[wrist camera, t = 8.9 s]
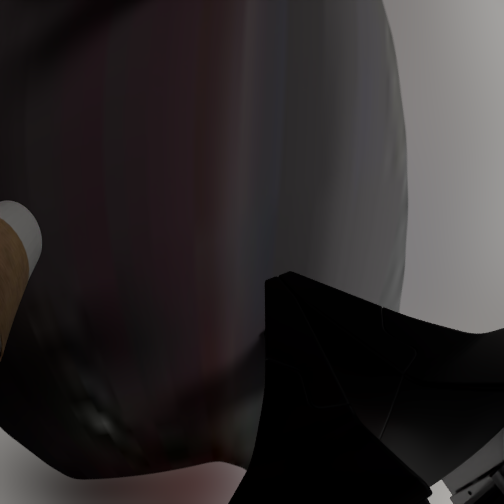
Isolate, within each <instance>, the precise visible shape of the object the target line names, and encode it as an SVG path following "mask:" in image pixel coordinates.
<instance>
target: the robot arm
mask: <svg viewBox="0 0 504 504" xmlns="http://www.w3.org/2000/svg"><path fill="white" fill-rule="evenodd" d="M264 336H265V352H266V361H265V389H264V397H263V404H262V410H261V416H260V421H259V426H258V432H257V437H256V442H255V447H254V451H253V455H252V459H251V462H250V465H249V467H248V470H247V472H246V473H245V476H244V477H243V479H242V481H241V482H240V484H239V486H238V488H237V490H236V491H235V493H234V495H233V497H232V498H231V500H230V502H229V503H228V504H430V503H429V501H428V499H427V498H428V497H429V496H431V495H432V491H431V489H430V486H432V485H433V484H435V483H436V482H438V481H439V480H441V479H442V480H443V482H444V483H445V485H446V486H447V488H448V489H449V491H450V492H451V493H452V495H453V496H451V497H450V499H451V501H452V502H453V504H504V328H503V329H499V330H496V331H492V332H489V333H482V334H474V333H467V332H462V331H458V330H455V329H451V328H447V327H444V326H439V325H436V324H432V323H429V322H425V321H422V320H418V319H415V318H412V317H409V316H406V315H403V314H400V313H398V312H395V311H392V310H390V309H387V308H385V307H383V308H382V307H381V306H379V305H377V304H374V303H371V302H369V301H366V300H364V299H361V298H359V297H356V296H353V295H351V294H348V293H346V292H343V291H341V290H338V289H336V288H333V287H330V286H328V285H325V284H323V283H320V282H318V281H315V280H313V279H310V278H307V277H305V276H302V275H300V274H297V273H295V272H292V271H289V272H286V273H284V274H281V275H279V277H273V278H270V279H268V280H266V281H265V333H264Z"/></svg>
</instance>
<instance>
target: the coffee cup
mask: <svg viewBox="0 0 504 504" xmlns="http://www.w3.org/2000/svg"><path fill="white" fill-rule="evenodd" d="M41 250H42V236H41V232H40V228H39V226H38V223H37V221H36V219H35V218H34V216H33V215H32V214H31V212H30V211H29V210H28V209H27V208H25V207H24V206H23V205H21V204H19V203H17V202H14V201H2V202H0V361H1V359H2V356H3V353H4V349H5V346H6V342H7V339H8V336H9V332H10V329H11V326H12V323H13V320H14V317H15V314H16V312H17V309H18V306H19V303H20V301H21V298H22V296H23V293H24V291H25V288H26V286H27V283H28V280H29V278H30V275H31V273H32V271H33V269H34V267H35V265H36V263H37V261H38V259H39V257H40V254H41Z"/></svg>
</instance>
